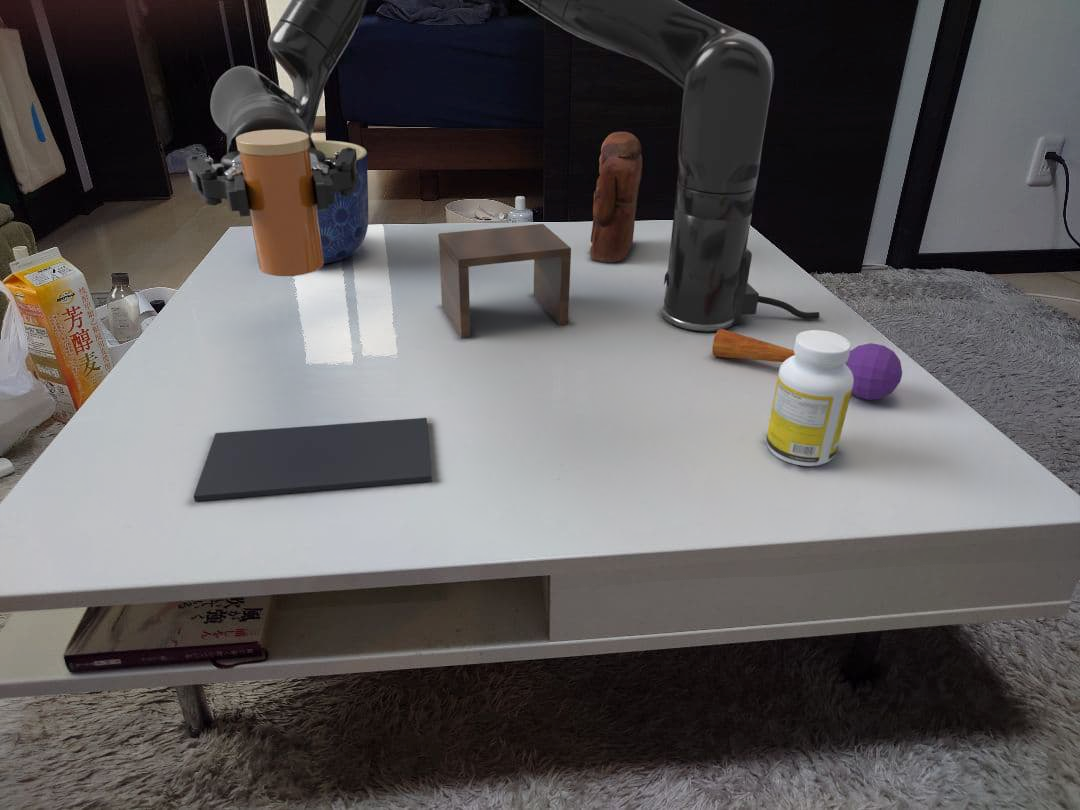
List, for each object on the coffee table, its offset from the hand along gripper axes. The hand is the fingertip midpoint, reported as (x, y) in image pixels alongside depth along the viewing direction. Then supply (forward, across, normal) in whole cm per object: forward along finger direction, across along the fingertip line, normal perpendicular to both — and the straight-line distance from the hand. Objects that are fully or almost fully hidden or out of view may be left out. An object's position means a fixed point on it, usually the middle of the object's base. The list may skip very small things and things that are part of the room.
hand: (283, 200), depth 57 cm
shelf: (-28, +26, +25) cm, 45 cm away
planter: (-58, +6, +25) cm, 63 cm away
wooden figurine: (-46, +49, +25) cm, 72 cm away
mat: (-2, 0, +25) cm, 25 cm away
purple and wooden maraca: (-2, +52, +25) cm, 58 cm away
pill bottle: (+11, +43, +25) cm, 51 cm away
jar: (-3, 0, +6) cm, 7 cm away
